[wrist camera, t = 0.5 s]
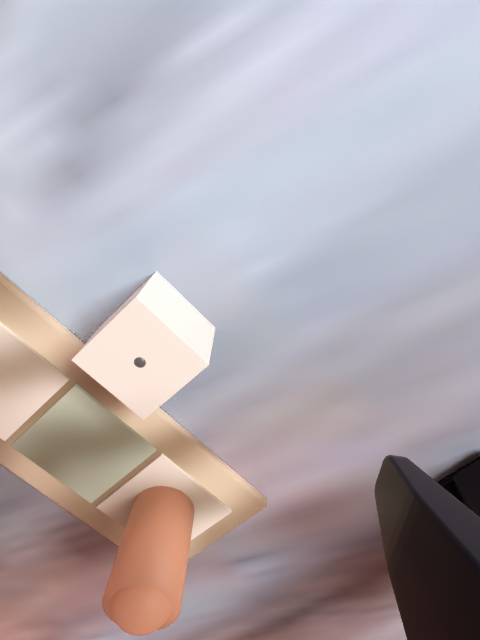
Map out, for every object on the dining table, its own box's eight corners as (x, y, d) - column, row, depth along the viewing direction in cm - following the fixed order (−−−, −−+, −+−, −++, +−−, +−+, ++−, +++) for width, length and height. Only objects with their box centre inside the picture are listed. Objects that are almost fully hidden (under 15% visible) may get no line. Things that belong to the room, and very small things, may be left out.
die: (215, 327, 20) (208, 366, 17) (159, 375, 22) (141, 422, 18) (156, 270, 19) (134, 298, 16) (101, 324, 20) (68, 362, 17)
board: (266, 498, 24) (266, 509, 24) (164, 568, 27) (161, 580, 26) (-135, 157, 18) (-152, 157, 17) (-225, 292, 20) (-243, 297, 19)
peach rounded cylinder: (207, 511, 24) (194, 631, 18) (165, 541, 25) (139, 665, 19) (162, 475, 23) (132, 590, 17) (120, 508, 24) (77, 627, 18)
